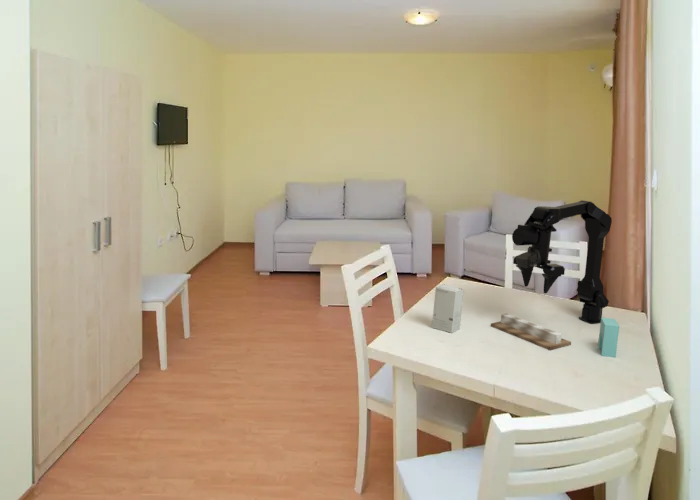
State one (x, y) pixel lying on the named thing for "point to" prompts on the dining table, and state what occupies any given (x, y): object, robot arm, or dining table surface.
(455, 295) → the skincare box
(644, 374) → the dining table surface
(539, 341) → the rail board
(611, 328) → the teal rectangular block
